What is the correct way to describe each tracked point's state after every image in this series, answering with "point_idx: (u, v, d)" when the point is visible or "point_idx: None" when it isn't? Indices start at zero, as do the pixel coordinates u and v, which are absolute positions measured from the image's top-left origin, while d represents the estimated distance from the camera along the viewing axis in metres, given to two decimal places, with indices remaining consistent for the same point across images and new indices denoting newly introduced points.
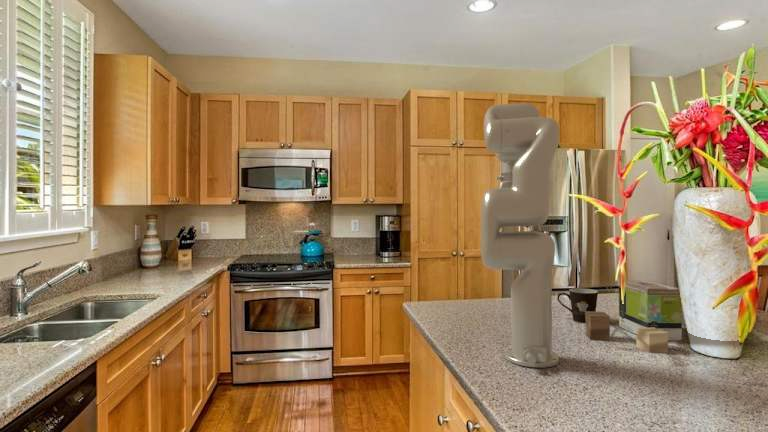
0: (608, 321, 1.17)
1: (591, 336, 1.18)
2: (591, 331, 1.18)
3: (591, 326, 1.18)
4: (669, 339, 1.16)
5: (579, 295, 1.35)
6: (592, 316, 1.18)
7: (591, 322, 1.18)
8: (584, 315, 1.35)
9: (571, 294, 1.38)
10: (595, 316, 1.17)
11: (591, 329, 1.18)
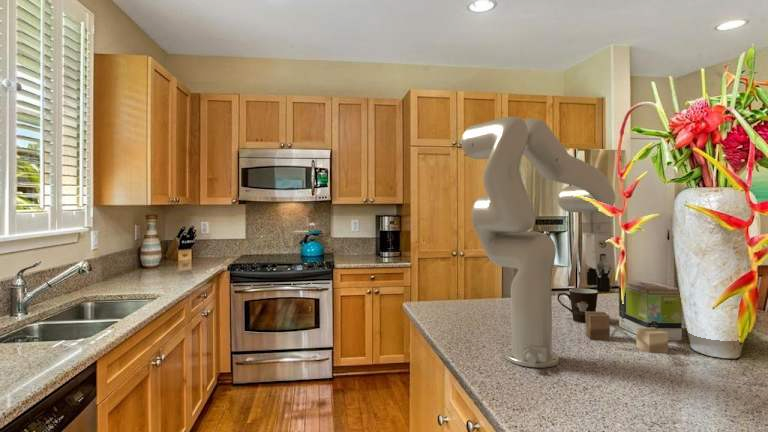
0: (608, 321, 1.17)
1: (591, 336, 1.18)
2: (591, 331, 1.18)
3: (591, 326, 1.18)
4: (669, 339, 1.16)
5: (579, 295, 1.35)
6: (592, 316, 1.18)
7: (591, 322, 1.18)
8: (584, 315, 1.35)
9: (571, 294, 1.38)
10: (595, 316, 1.17)
11: (591, 329, 1.18)
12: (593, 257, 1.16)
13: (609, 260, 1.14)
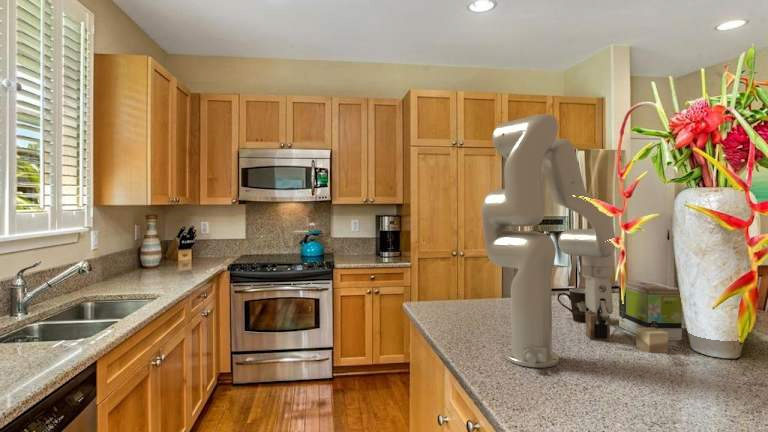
0: (608, 321, 1.17)
1: (591, 336, 1.18)
2: (591, 331, 1.18)
3: (591, 326, 1.18)
4: (669, 339, 1.16)
5: (579, 295, 1.35)
6: (592, 316, 1.18)
7: (591, 322, 1.18)
8: (584, 315, 1.35)
9: (571, 294, 1.38)
10: None
11: (591, 329, 1.18)
12: (593, 301, 1.16)
13: (609, 305, 1.14)
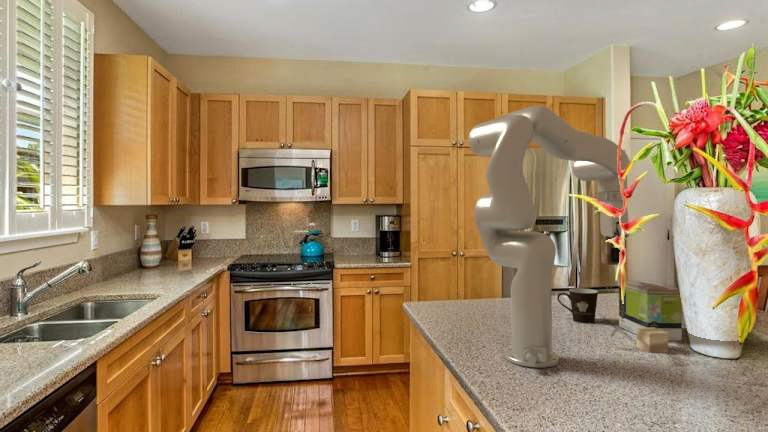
0: None
1: (608, 260, 1.19)
2: (608, 256, 1.19)
3: (608, 251, 1.19)
4: (669, 339, 1.16)
5: (579, 295, 1.35)
6: None
7: (608, 247, 1.19)
8: (584, 315, 1.35)
9: (571, 294, 1.38)
10: None
11: (608, 254, 1.19)
12: (609, 225, 1.17)
13: None
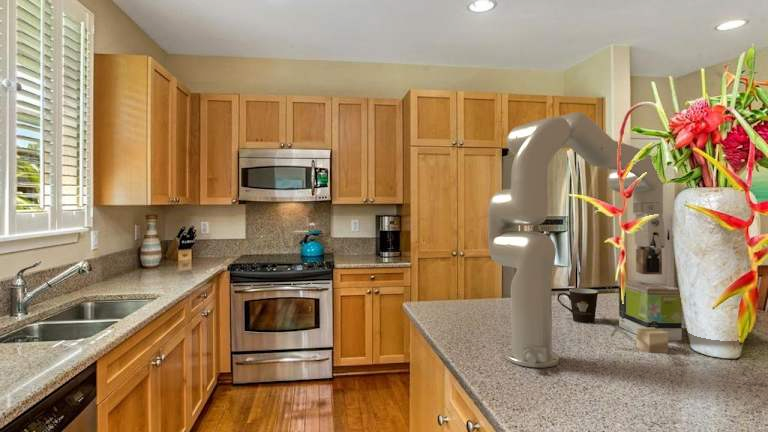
0: (660, 255, 1.20)
1: (643, 270, 1.21)
2: (643, 265, 1.21)
3: (643, 260, 1.21)
4: (669, 339, 1.16)
5: (579, 295, 1.35)
6: (644, 251, 1.21)
7: (643, 257, 1.21)
8: (584, 315, 1.35)
9: (571, 294, 1.38)
10: None
11: (643, 263, 1.21)
12: (645, 236, 1.20)
13: (662, 238, 1.18)
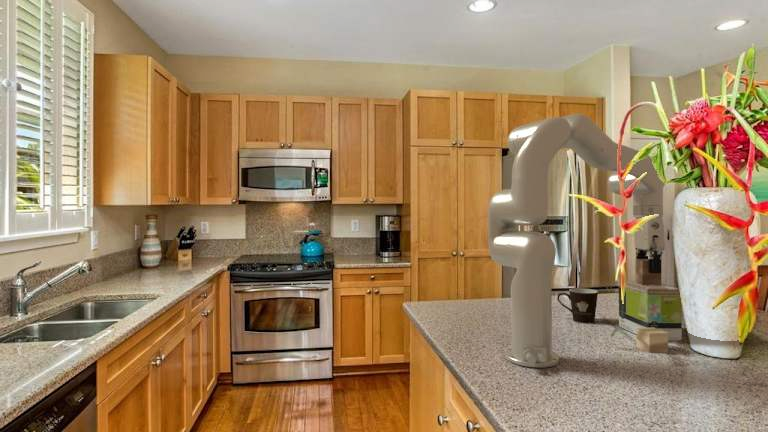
0: None
1: (643, 281, 1.21)
2: (643, 276, 1.21)
3: (643, 271, 1.21)
4: (669, 339, 1.16)
5: (579, 295, 1.35)
6: (644, 261, 1.21)
7: (643, 267, 1.21)
8: (584, 315, 1.35)
9: (571, 294, 1.38)
10: (647, 261, 1.21)
11: (643, 274, 1.21)
12: (645, 238, 1.20)
13: (662, 241, 1.18)
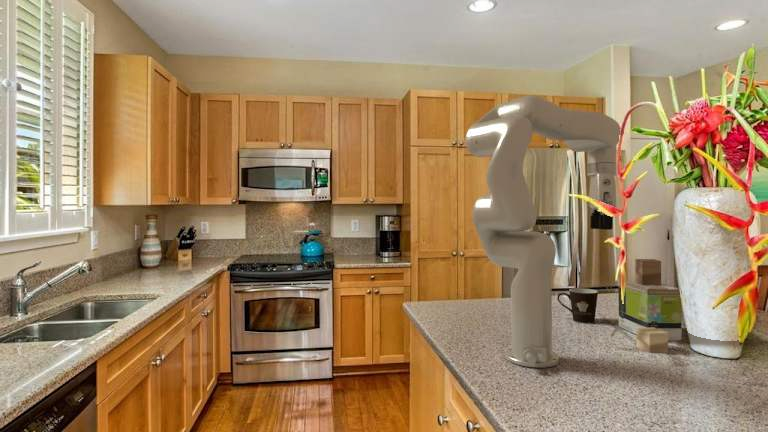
0: (660, 266, 1.20)
1: (643, 281, 1.21)
2: (643, 276, 1.21)
3: (643, 271, 1.21)
4: (669, 339, 1.16)
5: (579, 295, 1.35)
6: (644, 261, 1.21)
7: (643, 267, 1.21)
8: (584, 315, 1.35)
9: (571, 294, 1.38)
10: (647, 261, 1.21)
11: (643, 274, 1.21)
12: (597, 196, 1.18)
13: (612, 198, 1.16)
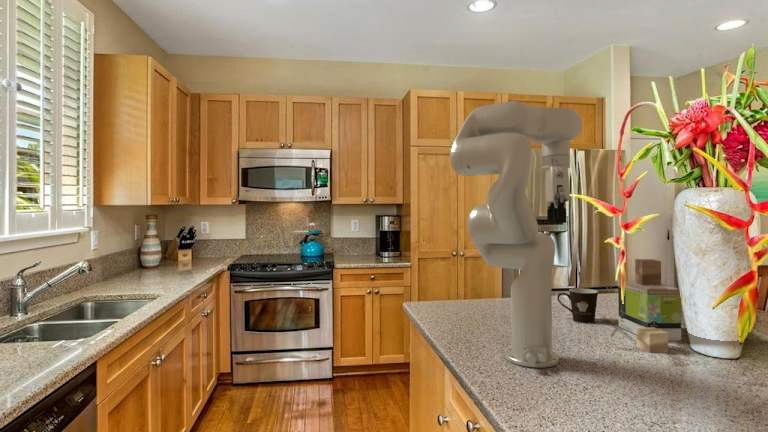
0: (659, 266, 1.20)
1: (643, 281, 1.21)
2: (643, 276, 1.21)
3: (643, 271, 1.21)
4: (669, 339, 1.16)
5: (579, 295, 1.35)
6: (644, 262, 1.21)
7: (643, 267, 1.21)
8: (584, 315, 1.35)
9: (571, 294, 1.38)
10: (647, 261, 1.21)
11: (643, 274, 1.21)
12: (551, 189, 1.17)
13: (566, 191, 1.15)
